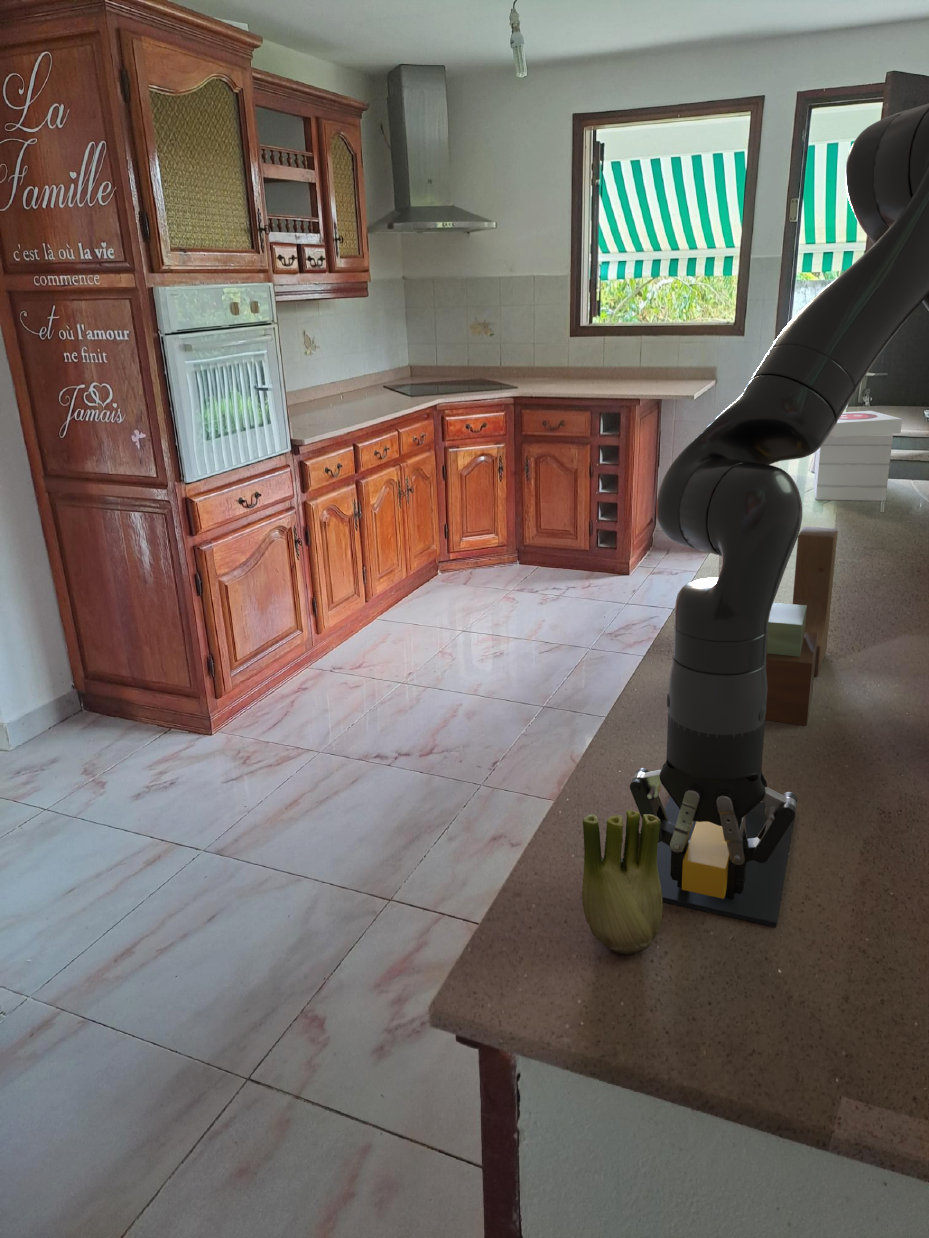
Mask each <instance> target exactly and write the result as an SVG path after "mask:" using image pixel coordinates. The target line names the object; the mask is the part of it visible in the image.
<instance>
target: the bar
mask: <svg viewBox="0 0 929 1238" xmlns="http://www.w3.org/2000/svg"><path fill="white" fill-rule="evenodd" d="M745 816H746V815H745ZM729 859H730V857H729V852H728V847H727V842H726V841H725V839H724V834H723V829H722V826H718V825H716V824H713V823H711V822H697V821H696V824H695V827H694V830H693V833H692V836H691V839H690V842H689V845H688V847H687V850H686V853H685V856H684V859H683V871H682V890H685V891H690V892H695V893H699V894H704V895H708V896H713V897H717V898H722V899H724V897H725V893H726V889H727V877H728V863H729Z"/></svg>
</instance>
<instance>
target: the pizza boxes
mask: <svg viewBox="0 0 929 1238" xmlns="http://www.w3.org/2000/svg"><path fill="white" fill-rule="evenodd" d="M902 424H903V418H901V417H897V416H892V415H889V414H885V413H881V412H877V411H874V410H860V411H858V410H857V411H843V413H842V415H841V416H840V418H839V420H838V421H837V423H836V424H835V426H834V428H833V429H832V431H831V433H830V434H829V436H828V437H827V439H826V440H825V442H824V443H823V444H822V445H821V447H820V448H819V449H818V450H817V451H816V452H814V453H813V457H812V470H811V471H812V472H813V473H814V475H813V492H814V497H815V500H816V501H818V500H819V501H861V502H863V501H865V502H866V501H868V502H870V501H871V502H886V500H887V492H888V491H887V490H888V483H889V474H890V465H891V456H892V447H893V438H894V435H895V434H901V433H902ZM893 434H894V435H893Z"/></svg>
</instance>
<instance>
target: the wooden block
mask: <svg viewBox="0 0 929 1238" xmlns="http://www.w3.org/2000/svg"><path fill="white" fill-rule="evenodd" d="M838 534H839V532H838V529H837V528H835V527H819V526H803V527H802V528H801V529H800V532H799V535H798V538H797V541H796V556H795V566H794V568H795V569H794V579H793V580H794V581H793V591H792V595H793V596H792V604H796V605H807V610H806V622H805V632H814V633H818V639H817V649H816V660H815V671H814V677H818V676H819V675H820V672H821V668H822V665H823V662H824V659H825V656H826V654H827V649H828V639H829V629H830V628H829V627H830V616H831V607H832V606H831V605H832V596H833V585H834V577H835V576H834V574H835V567H836V566H835V565H836V554H837V544H838Z"/></svg>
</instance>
